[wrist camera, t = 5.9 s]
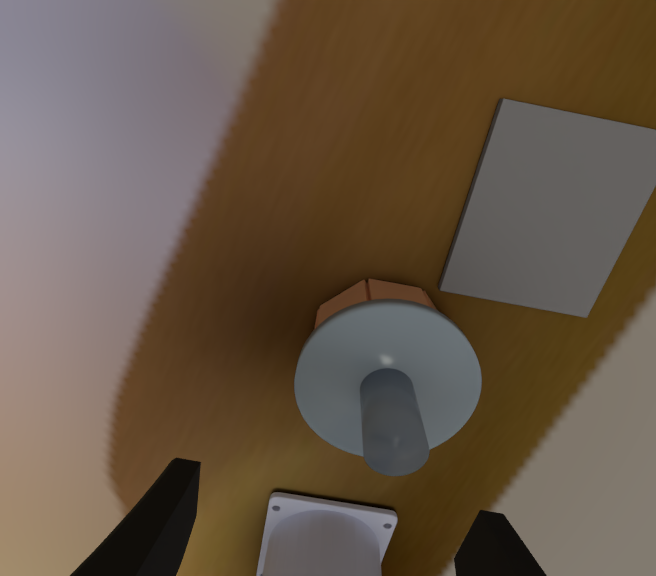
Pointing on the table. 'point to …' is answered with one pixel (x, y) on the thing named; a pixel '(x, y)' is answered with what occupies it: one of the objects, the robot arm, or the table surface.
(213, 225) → the table surface
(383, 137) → the table surface
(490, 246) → the mat
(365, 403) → the lid
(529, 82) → the table surface
